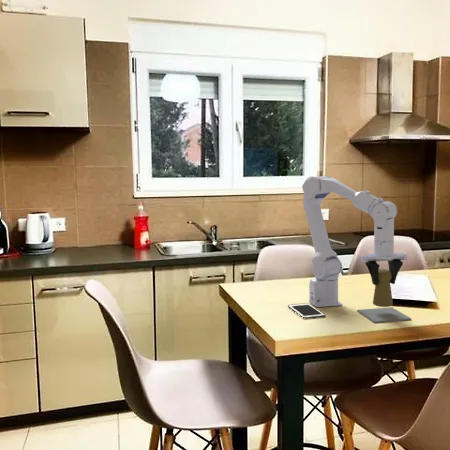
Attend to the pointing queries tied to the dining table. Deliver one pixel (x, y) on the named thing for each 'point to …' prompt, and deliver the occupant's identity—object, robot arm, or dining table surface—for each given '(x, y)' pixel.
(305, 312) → the cell phone
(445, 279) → the dining table surface
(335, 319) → the dining table surface
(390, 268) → the robot arm
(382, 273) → the cork
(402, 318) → the slate mat
